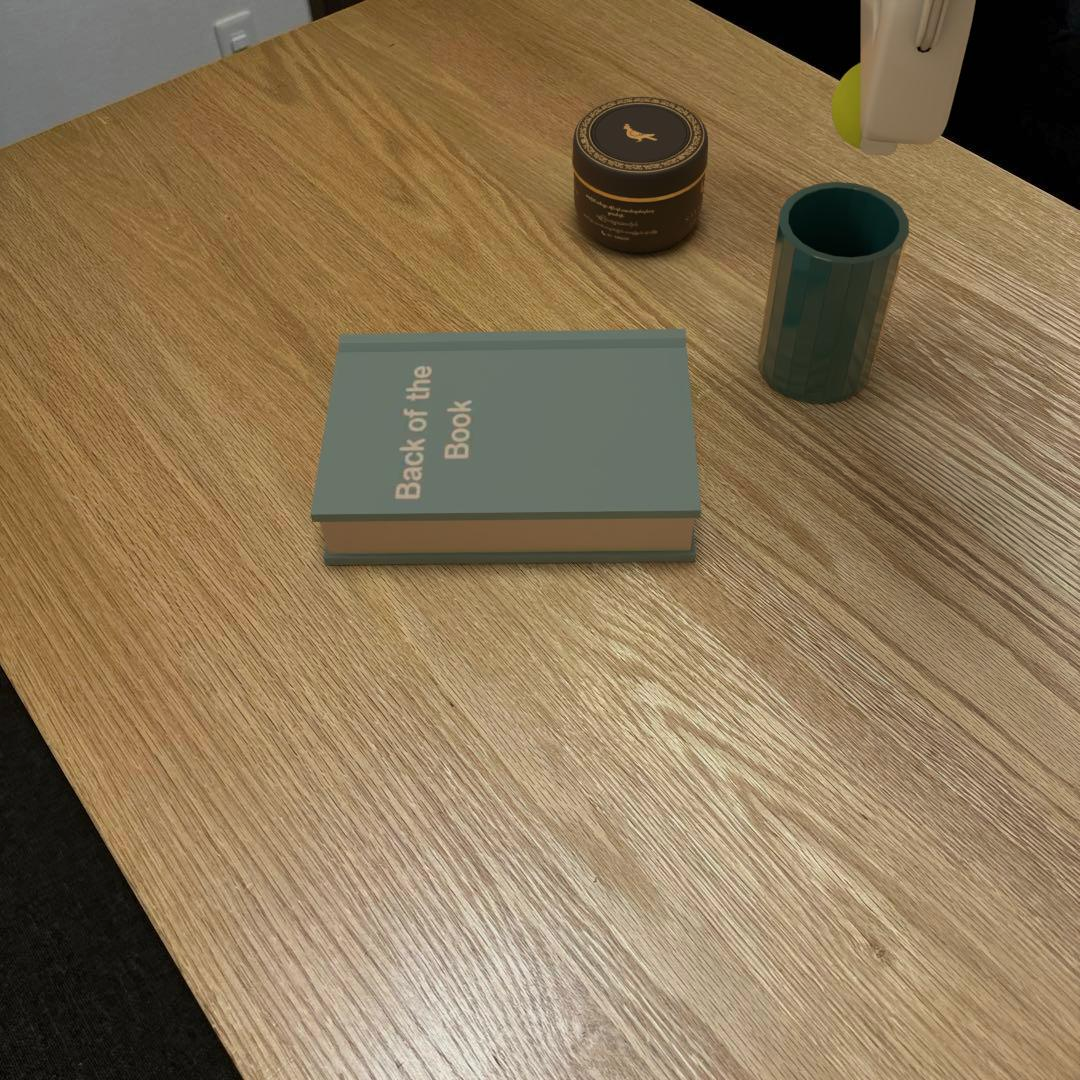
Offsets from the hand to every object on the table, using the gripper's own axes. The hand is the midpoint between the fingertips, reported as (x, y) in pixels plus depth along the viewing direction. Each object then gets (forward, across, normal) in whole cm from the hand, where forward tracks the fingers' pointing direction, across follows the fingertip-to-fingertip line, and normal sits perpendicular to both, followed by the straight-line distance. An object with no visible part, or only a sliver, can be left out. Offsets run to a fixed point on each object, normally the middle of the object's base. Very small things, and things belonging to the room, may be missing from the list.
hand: (876, 114), depth 63 cm
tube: (+22, +4, 0) cm, 22 cm away
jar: (+22, +18, +14) cm, 32 cm away
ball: (-1, 0, 0) cm, 1 cm away
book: (+22, -8, +19) cm, 30 cm away
